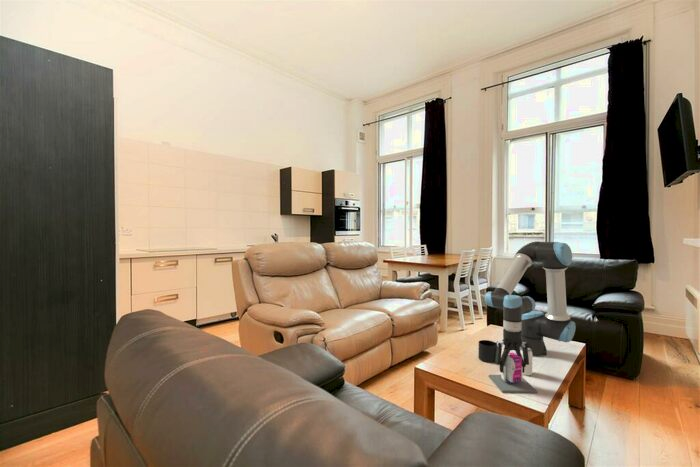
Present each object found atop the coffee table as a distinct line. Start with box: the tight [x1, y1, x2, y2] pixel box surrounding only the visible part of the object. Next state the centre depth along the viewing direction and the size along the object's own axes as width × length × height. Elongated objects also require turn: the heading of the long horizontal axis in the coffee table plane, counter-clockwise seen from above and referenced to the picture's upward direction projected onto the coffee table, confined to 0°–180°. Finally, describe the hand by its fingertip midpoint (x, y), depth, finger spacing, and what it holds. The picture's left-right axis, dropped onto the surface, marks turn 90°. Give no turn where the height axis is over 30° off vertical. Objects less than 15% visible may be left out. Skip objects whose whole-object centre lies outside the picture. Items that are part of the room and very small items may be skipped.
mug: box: [478, 339, 497, 364], centre depth 176 cm, size 9×12×9 cm
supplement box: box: [504, 352, 522, 383], centre depth 149 cm, size 6×6×12 cm
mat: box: [488, 374, 538, 394], centre depth 149 cm, size 15×15×1 cm
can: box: [519, 347, 533, 377], centre depth 161 cm, size 6×6×12 cm
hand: (511, 379), depth 149 cm, fingers closed on supplement box, 7 cm apart
